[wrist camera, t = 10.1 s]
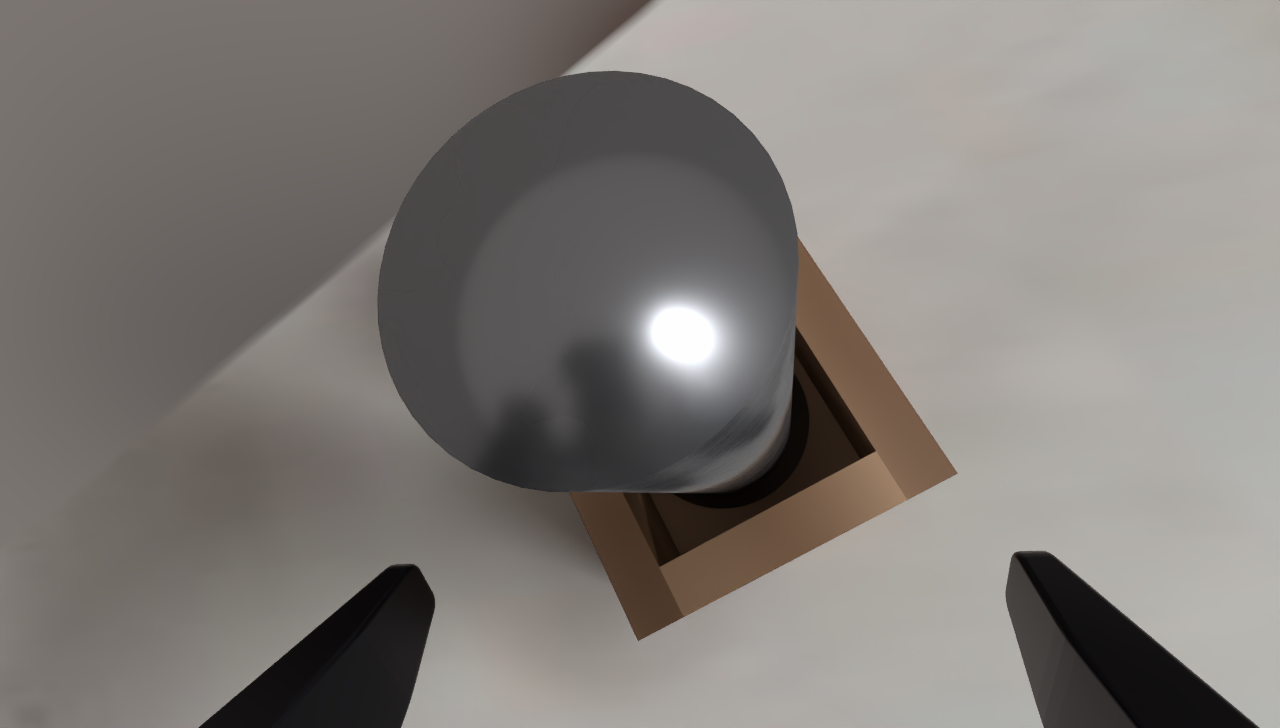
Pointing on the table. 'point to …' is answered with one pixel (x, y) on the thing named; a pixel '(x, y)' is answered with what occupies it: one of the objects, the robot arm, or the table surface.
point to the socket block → (775, 478)
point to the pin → (598, 292)
